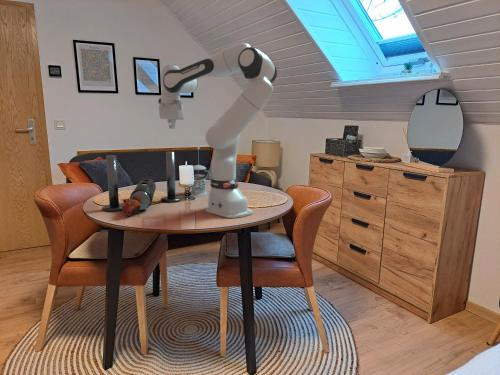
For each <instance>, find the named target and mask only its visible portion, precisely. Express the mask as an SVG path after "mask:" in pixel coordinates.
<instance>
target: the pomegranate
mask: <svg viewBox="0 0 500 375" xmlns="http://www.w3.org/2000/svg"><path fill="white" fill-rule="evenodd" d="M123 203H124V205H123V207H122V213H123V215H125V216H127V217H131V216H132V215H135V214H136V215H138V213H137V212H138V211H140V210H139V209H140V206H141V204H140V203H139V202H138V201H137V200H134V199H130V198H129V199H128V200H126V199H124V200H123Z"/></svg>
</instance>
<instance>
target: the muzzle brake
mask: <svg viewBox="0 0 500 375" xmlns="http://www.w3.org/2000/svg"><path fill="white" fill-rule="evenodd" d="M156 188H157V186H156V182H155V181H154V180H153V179H151V178H148V177H147V178H145V177H144V178H142V179H141V180H139V182H138V183H137V185H136V187H135V188H134V189H133V191H132V192H131V193H130V195H129V200H130V199H134V200H137V201H138V202H139V203H140V204H141V206H140V209H139V210H138V211H140V210H147V209H148V208H150V206H152V204H153V199H154V194H155V192H156V190H157V189H156Z"/></svg>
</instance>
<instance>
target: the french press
mask: <svg viewBox="0 0 500 375" xmlns="http://www.w3.org/2000/svg"><path fill="white" fill-rule="evenodd" d="M196 150H197V151H198V152H197V158H198V159H197V160H198V161H197V163H198V164H197V165H193V166H192V167H193V168H194V170H193V171H197V173H196V174H193V175H194V180H195V181H194V185H193V186H192V187H191V189H190V190H191V191H190V192H191V194H190V195H192V196H204V195H207V194H208V191H207V184H209V183H210V180H211V178H212V173H211V172H210V170H209V171H208V170H207V168H206V166H203V165H201V164H200V161H199V150H201V147H199V146H197V147H196ZM200 171H205V172H206V173H208V175H209V178H208V180H206V179H207V178H206V174H202V173H201V174H200V173H199V172H200Z"/></svg>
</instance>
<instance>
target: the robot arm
mask: <svg viewBox="0 0 500 375" xmlns="http://www.w3.org/2000/svg"><path fill="white" fill-rule="evenodd" d="M240 71H241V73H242V74H243V76H244V78H245V79H248V84H247V86H246V87H245V89H243V91H241V94H239V96H238V97H237V98H236V100H235V101H234V102H233V103H232V104H231V105H230V107H229V108H228V109H227V110H226V111H225V112H223V113H222V115H221V116H220V117H219V118H218V119H217V120H216V121H214V123H213V124H212V125H211V126H210V127H209V128H208V129H207V131H206V133H205V141H206V143H207V145H208V146H209V147H211V148H212V149H214V152H213V156H212V159H211V172H210V173H211V179H210V180H209V183H210V190H209V192H208V196H207V207H206V208H205V212H207V213H210V214H213V215H216V216H220V217H224V218H228V219H233V218H234V219H236V218H242V217H246V216H250V215H252V214H254V211H253V210H252V209H250V208H249V207H248V199H247V197H246V196H245V195H244V194H243V193H242V191H241V190H240V188H239V185H240V184H239V183H240V182H239V181H238V179H237V159H238V158H237V157H238V150H239V144H240V138H241V133H242V132H243V131H244V130H245V129H247V127H248V126H250V125H251V124H252V122H253V121H254V120H255V119H256V117H257V116H258V115H259V113H260V112H261V111H262V110H263V109H264V108H265V106H266V105H267V104H268V102H269V101H270V99H271V97H272V95H273V93H274V86H273V82H275V80H276V79H277V76H278V68H277V66H276V64H275V62H273V61H272V60H271V59H270V57H269V56H268V55H267V54H265V53H264V52H262V51H261V50H260V49H258V48H256V47H252V46H251V45H250V44H249V43H247V42H241V43H240V42H239V43H236V44H233V45H230V46H229V47H227V48H224V49H222V50H220V51H218V52H217V53H214V54H213V55H211V56H208V57H206V58H204V59H202V60H199V61H197V62H195V63H192V64H190V65H188V66H185V67H183V68H180V67H179V66H177V65H176V64H175V65H174V64H169V65H164V66H163V67H162V69H161V72H160V73H161V74H160V77H161V78H160V85H161V89H162V90H161V96H160V98H158V100H157V103H158V113H159V118H160V119H162V120H167V123H168V129H172V130H175V128H176V123H177V120H178V121H180V120H181V121H182V120H184V119H185V111H184V110H185V109H184V105H183V103H182V102H181V94H191V93H194V92H195V91H196V90H197V87H198V79H200V78H205V77H211V78H213V77H215V78H216V77H217V78H226V77H230V76H232V75H234V74H237V73H239V72H240Z"/></svg>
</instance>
